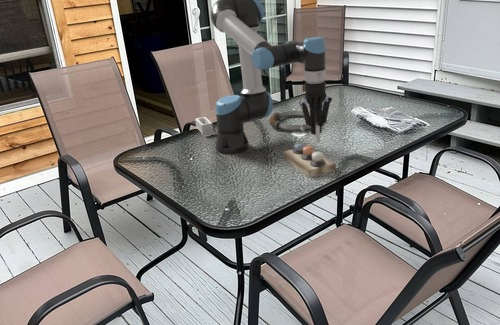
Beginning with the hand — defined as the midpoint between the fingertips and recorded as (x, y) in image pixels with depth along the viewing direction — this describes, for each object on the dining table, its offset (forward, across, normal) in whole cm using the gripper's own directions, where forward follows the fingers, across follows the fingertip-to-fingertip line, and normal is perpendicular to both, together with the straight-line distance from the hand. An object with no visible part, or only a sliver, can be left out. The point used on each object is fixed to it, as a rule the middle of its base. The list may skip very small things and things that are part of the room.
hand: (316, 141), depth 173 cm
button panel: (+12, 0, +7) cm, 14 cm away
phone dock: (+11, -26, +69) cm, 74 cm away
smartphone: (+12, -26, +69) cm, 75 cm away
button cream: (+7, 0, -1) cm, 7 cm away
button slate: (+8, 0, +14) cm, 16 cm away
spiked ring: (+12, +20, +54) cm, 59 cm away
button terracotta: (+7, 0, +7) cm, 9 cm away
